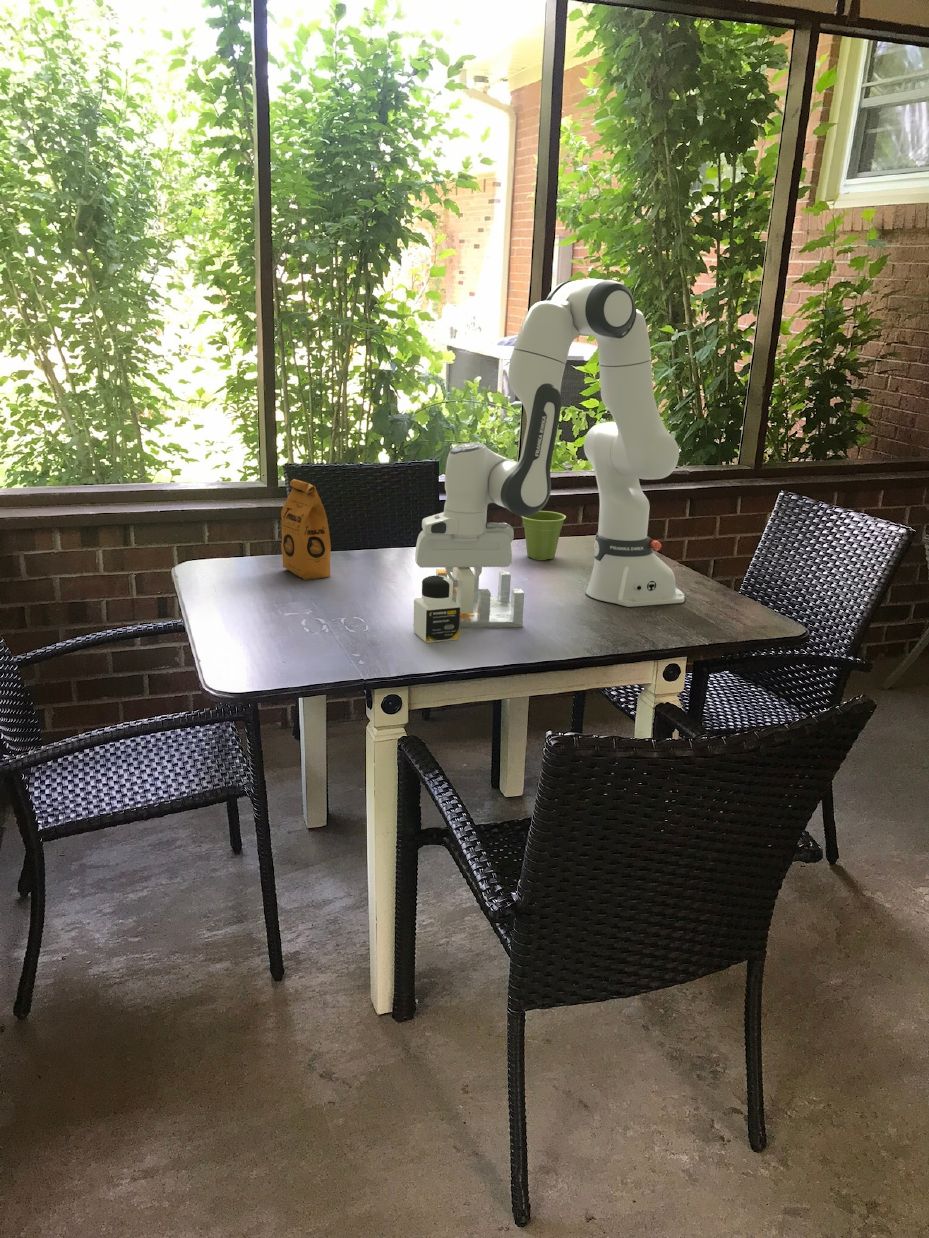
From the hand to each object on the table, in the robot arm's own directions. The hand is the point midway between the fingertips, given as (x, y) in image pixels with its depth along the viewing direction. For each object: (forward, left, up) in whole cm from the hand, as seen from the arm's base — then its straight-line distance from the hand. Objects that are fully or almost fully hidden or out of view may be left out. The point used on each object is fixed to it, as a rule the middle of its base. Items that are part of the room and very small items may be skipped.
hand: (462, 586), depth 204 cm
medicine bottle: (+7, +14, -6) cm, 17 cm away
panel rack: (-3, 0, -6) cm, 7 cm away
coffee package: (+33, -33, -6) cm, 47 cm away
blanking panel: (0, 0, -4) cm, 4 cm away
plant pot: (-28, -48, -6) cm, 56 cm away
